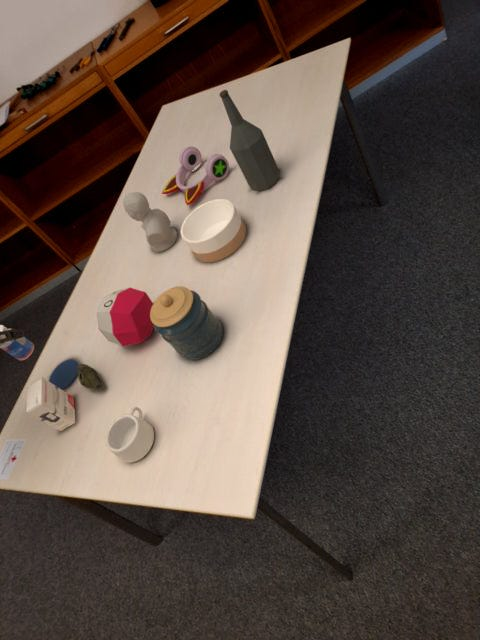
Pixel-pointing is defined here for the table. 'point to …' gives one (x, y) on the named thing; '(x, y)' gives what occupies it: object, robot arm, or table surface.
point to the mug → (130, 437)
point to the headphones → (189, 160)
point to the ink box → (50, 404)
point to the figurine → (150, 221)
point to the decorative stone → (89, 377)
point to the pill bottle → (18, 346)
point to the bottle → (250, 149)
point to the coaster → (64, 374)
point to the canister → (186, 323)
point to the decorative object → (125, 317)
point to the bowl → (213, 230)
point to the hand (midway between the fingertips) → (13, 335)
